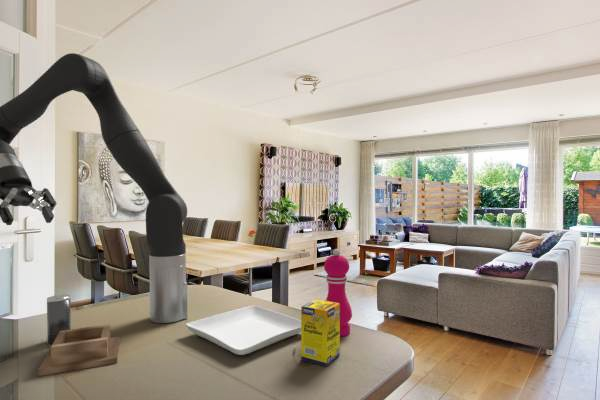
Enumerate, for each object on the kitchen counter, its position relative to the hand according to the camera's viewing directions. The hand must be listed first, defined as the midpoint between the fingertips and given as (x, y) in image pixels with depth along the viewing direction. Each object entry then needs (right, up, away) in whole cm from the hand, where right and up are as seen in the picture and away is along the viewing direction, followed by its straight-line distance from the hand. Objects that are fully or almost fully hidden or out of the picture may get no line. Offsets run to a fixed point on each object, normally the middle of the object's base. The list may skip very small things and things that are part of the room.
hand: (31, 221), depth 90 cm
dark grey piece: (+10, -27, -5) cm, 29 cm away
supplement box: (+69, -27, -15) cm, 76 cm away
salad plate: (+53, -27, -2) cm, 59 cm away
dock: (+20, -27, -14) cm, 36 cm away
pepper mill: (+74, -27, -1) cm, 79 cm away
